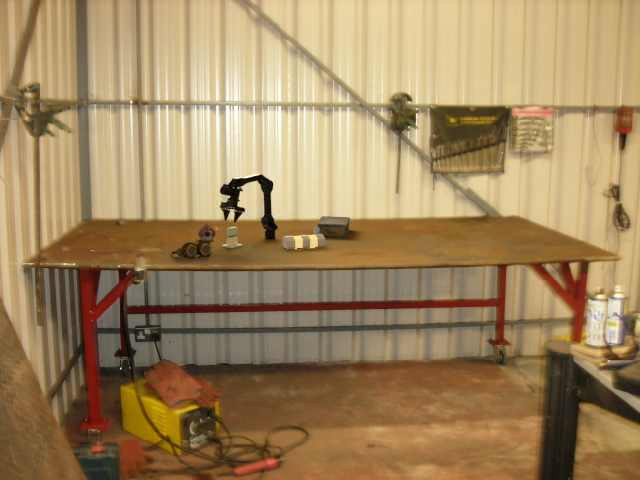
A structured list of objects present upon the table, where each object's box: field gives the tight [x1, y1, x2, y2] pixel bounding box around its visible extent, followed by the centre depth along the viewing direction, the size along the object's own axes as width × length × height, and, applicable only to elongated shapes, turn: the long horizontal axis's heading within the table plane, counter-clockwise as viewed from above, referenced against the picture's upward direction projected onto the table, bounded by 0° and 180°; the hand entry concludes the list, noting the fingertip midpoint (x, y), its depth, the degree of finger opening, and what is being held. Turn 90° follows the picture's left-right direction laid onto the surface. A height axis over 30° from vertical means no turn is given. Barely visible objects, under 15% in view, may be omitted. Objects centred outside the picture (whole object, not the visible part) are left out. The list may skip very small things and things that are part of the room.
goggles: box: [170, 240, 212, 259], centre depth 392 cm, size 24×24×10 cm
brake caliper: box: [197, 223, 217, 242], centre depth 435 cm, size 11×11×12 cm
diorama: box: [282, 226, 326, 250], centre depth 415 cm, size 25×10×13 cm, turn 112°
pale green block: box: [226, 226, 238, 237], centre depth 415 cm, size 7×2×5 cm, turn 141°
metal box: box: [316, 215, 351, 239], centre depth 463 cm, size 21×32×10 cm, turn 174°
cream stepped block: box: [221, 235, 243, 249], centre depth 416 cm, size 10×8×6 cm
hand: (229, 221), depth 416 cm, fingers open, 9 cm apart
